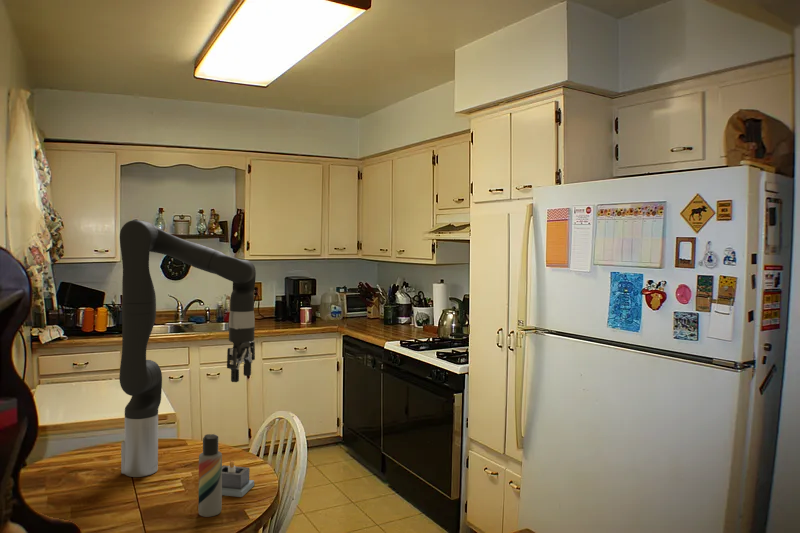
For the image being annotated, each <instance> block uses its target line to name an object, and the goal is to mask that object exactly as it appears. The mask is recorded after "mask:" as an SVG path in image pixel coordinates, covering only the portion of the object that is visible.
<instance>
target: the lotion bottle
mask: <svg viewBox="0 0 800 533" xmlns="http://www.w3.org/2000/svg"><path fill="white" fill-rule="evenodd" d="M222 466H223V454H222V452H221V451H219V436H218V434H215V433H213V434H212V433H211V434H210V433H209V434H205V435H204V436H203V438H202V452H201V453H199V455H198V502H197V504H198V506H197V507H198V508H197V509H198V510H197V511H198V515H199V516H201V517H205V518H209V517H214V516H217V515H219V514H221V512H222V502H223V501H222V500H223V495H222Z"/></svg>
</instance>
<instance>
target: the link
mask: <svg viewBox="0 0 800 533" xmlns="http://www.w3.org/2000/svg"><path fill="white" fill-rule="evenodd" d="M228 466H229V465H225V464H224V465H223V464H222V488H230V489H242V488H243V487H244V486H245V485H246V484H247V483H248V482H249V480H250V467H245V466H236V465H234V466H235V473H230V472H228Z"/></svg>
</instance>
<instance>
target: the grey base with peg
mask: <svg viewBox="0 0 800 533" xmlns="http://www.w3.org/2000/svg"><path fill="white" fill-rule="evenodd" d="M227 466H228V472H230V473H235V466H236V465H235V461H234V460H230V461H229V465H227ZM254 486H255V480H254V479H249V482H248V483H247V484H246V485H245V486H244V487H243V488H242V489H230V488H222V496H227V497H229V496H230V497H237V498H243V497H244V496H245V495H246V494H247V493H248V492H249V491H250V490H251V489H252V488H253V487H254Z"/></svg>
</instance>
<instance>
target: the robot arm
mask: <svg viewBox="0 0 800 533" xmlns="http://www.w3.org/2000/svg"><path fill="white" fill-rule="evenodd" d="M119 245H120V254H121V261H122V262H121V263H122V278H121V279H122V280H121V282H122V283H121V284H122V285H121V286H122V288H121V291H122V294H121V298H122V299H121V316H122V318H121V320H122V325H121V326H122V328H121V329H122V332H121V334H122V336H121V337H122V338H121V341H122V343H121V344H122V347H121V348H122V349H121V356H120V358H121V359H120V364H119V376H118V378H119V379H118V380H119V384H120V387H121V390H123V392H124V393H125V394H126V395H129V396H131V398H130V400H129V402H127V404H126V406H125V408H124V440H122V442H121V445H120V446H121V449H120V452H121V454H120V455H121V459H120V460H121V461H120V462H121V464H120V465H121V468H120V469H121V474H122V475H125V476H127V477H133V478H140V477H146V476H150V475H152V474H154V473H155V474H156V472H158V469H159V466H158V465H159V461H158V460H159V408H160V404H161V403H162V402H161V401H162V392H163V390H162V387H163V373H162V370H161V366H159V364H158V363H157V362H156V361H154V360H151V359H147V349H148V348H147V347H148V343H149V339H150V337H151V334H152V331H153V329H154V327H155V326H154V325H155V321H156V318H157V317H156V316H157V298H156V297H157V296H156V290H155V287H154V283H153V280H152V276H151V273H150V272H151V271H150V252H151V253H157V254H161V255H164V256H169V257H170V258H174V259H176V260H178V261H180V262H182V263H184V264H185V265H186V264H187V265H188V266H191V267H193V268H196V269H198V270H201V271H204V272H206V273H211V274H214V275H216V276H218V277H221V278H223V279H225V280H228V281H230V282H232V291H231V294H230V298H229V300H230V301H229V316H228V341H229V342H230V343H232V344H233V345H232V347H228V348H227V352H226V354H227V356H226V369H229V370H230V382H232V383H239V382H240V366H241V364H242V363H243V376H244V377H250V376H251V375H252V364H253V361H255V360H256V342H255V329H256V328H255V322H256V321H255V311H254V310H255V296H254V294H255V293H254V292H255V287H256V277H257V276H256V274H257V272H256V267H255V265H254V263H253V262H251V260H248V259H239V258H237V257H233V256H231V255H227V254H225V253H224V252H222V251H219V250H217V249H213V248H211V247H208V246H205V245H202V244H199V243H196V242H193V241H190V240H186V239H183V238H180V237H178V236H175V235H173V234H171V233H169V232H167V231H165V230H163V229H161V228H159V227H158V226H155V225H154V224H153V223H151V222H149V221H145V220H137V219H132V220H130V221H127V222H126V223H124V224H123V226H122V227H121V229H120V230H119Z"/></svg>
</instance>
